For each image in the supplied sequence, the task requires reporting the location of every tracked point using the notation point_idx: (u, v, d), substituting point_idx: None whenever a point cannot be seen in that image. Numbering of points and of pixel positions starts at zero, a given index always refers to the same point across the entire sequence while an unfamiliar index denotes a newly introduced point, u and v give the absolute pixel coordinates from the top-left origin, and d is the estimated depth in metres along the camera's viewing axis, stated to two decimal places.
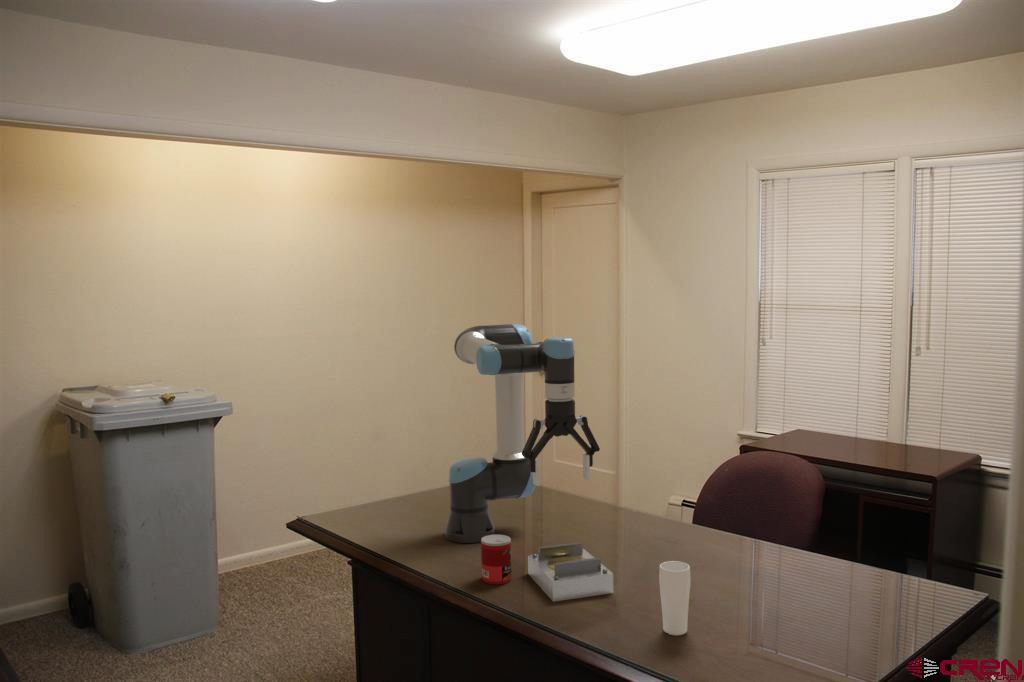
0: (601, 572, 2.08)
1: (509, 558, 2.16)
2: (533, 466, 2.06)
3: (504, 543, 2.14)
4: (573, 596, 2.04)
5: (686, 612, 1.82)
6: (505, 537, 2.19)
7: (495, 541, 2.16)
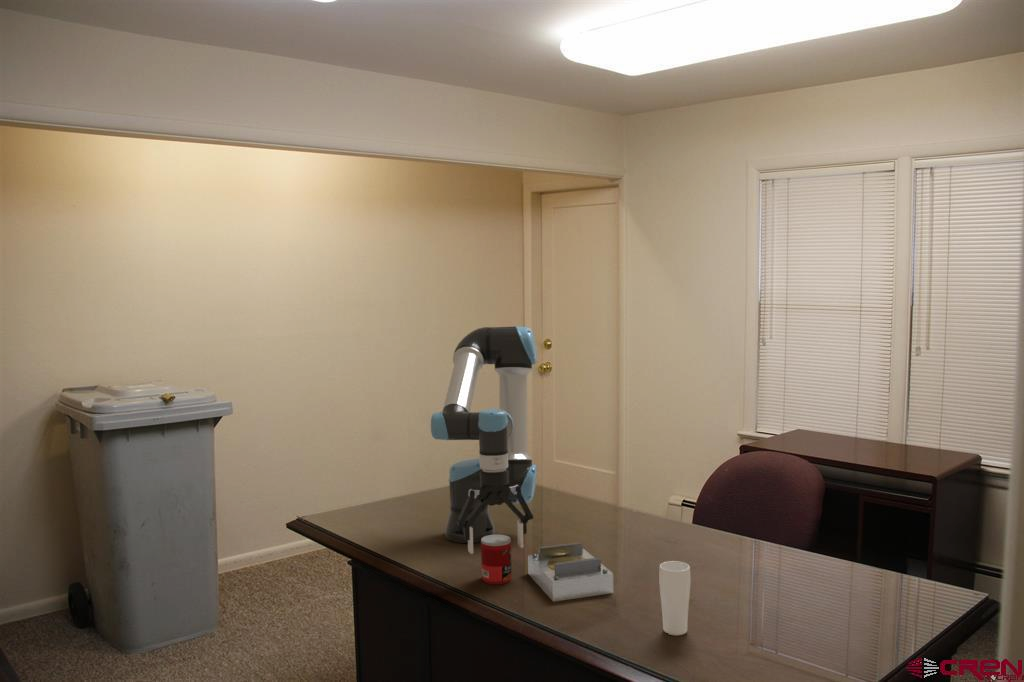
0: (601, 572, 2.08)
1: (509, 558, 2.16)
2: (467, 534, 2.14)
3: (504, 543, 2.14)
4: (573, 596, 2.04)
5: (686, 612, 1.82)
6: (505, 537, 2.19)
7: (495, 541, 2.16)
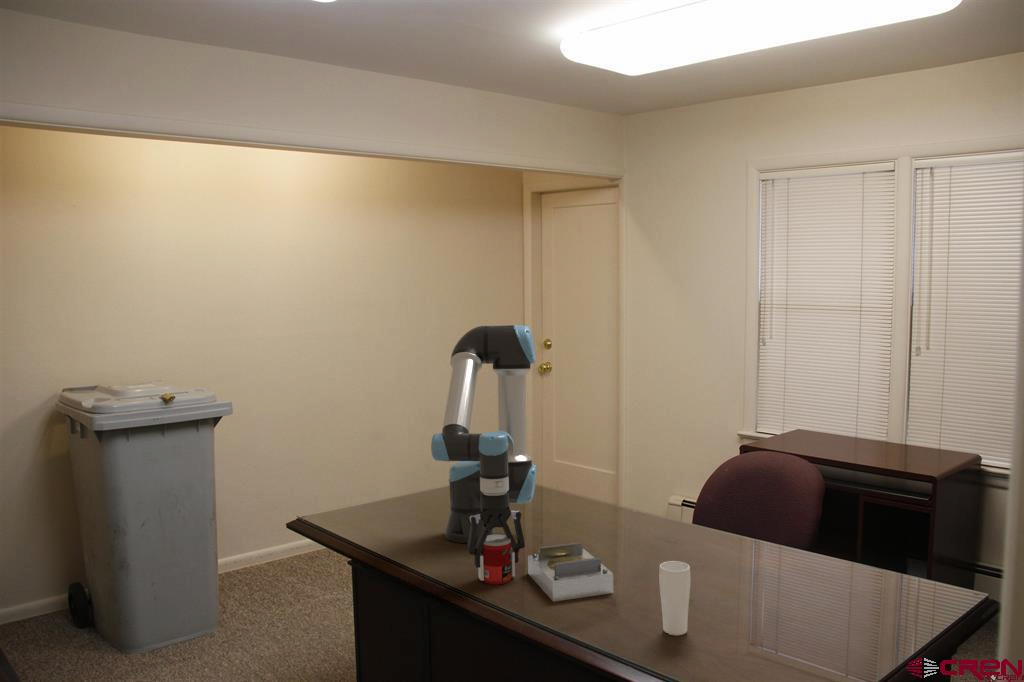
0: (601, 572, 2.08)
1: (509, 558, 2.16)
2: (478, 562, 2.16)
3: (504, 543, 2.14)
4: (573, 596, 2.04)
5: (686, 612, 1.82)
6: (505, 537, 2.19)
7: (495, 541, 2.16)
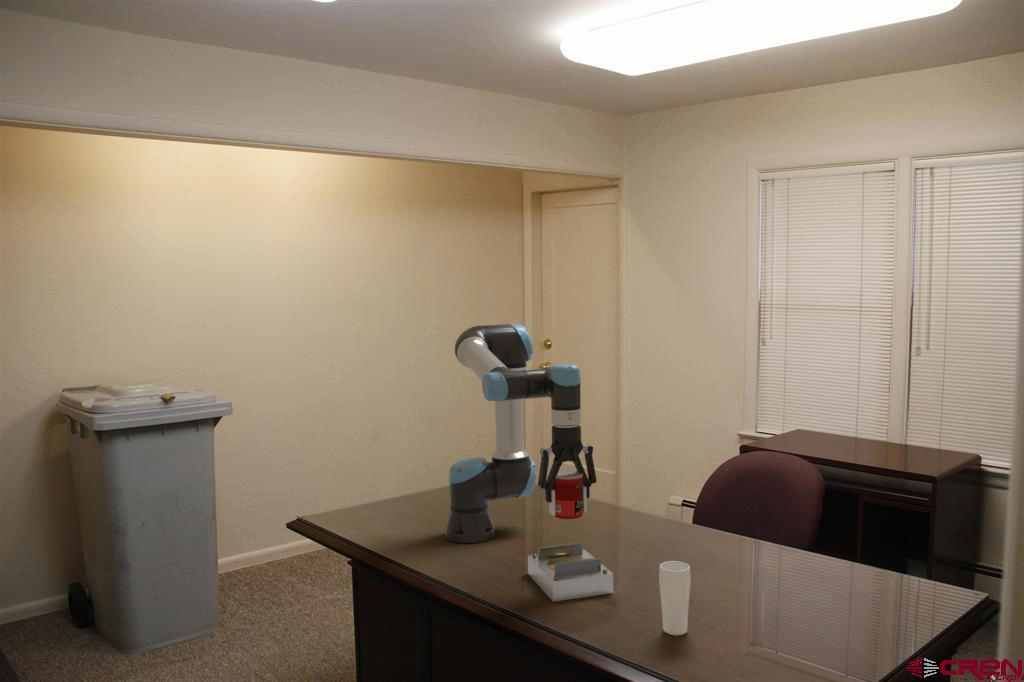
0: (601, 572, 2.08)
1: (581, 492, 2.10)
2: (549, 496, 2.10)
3: (577, 477, 2.09)
4: (573, 596, 2.04)
5: (686, 612, 1.82)
6: (576, 472, 2.13)
7: (567, 475, 2.11)
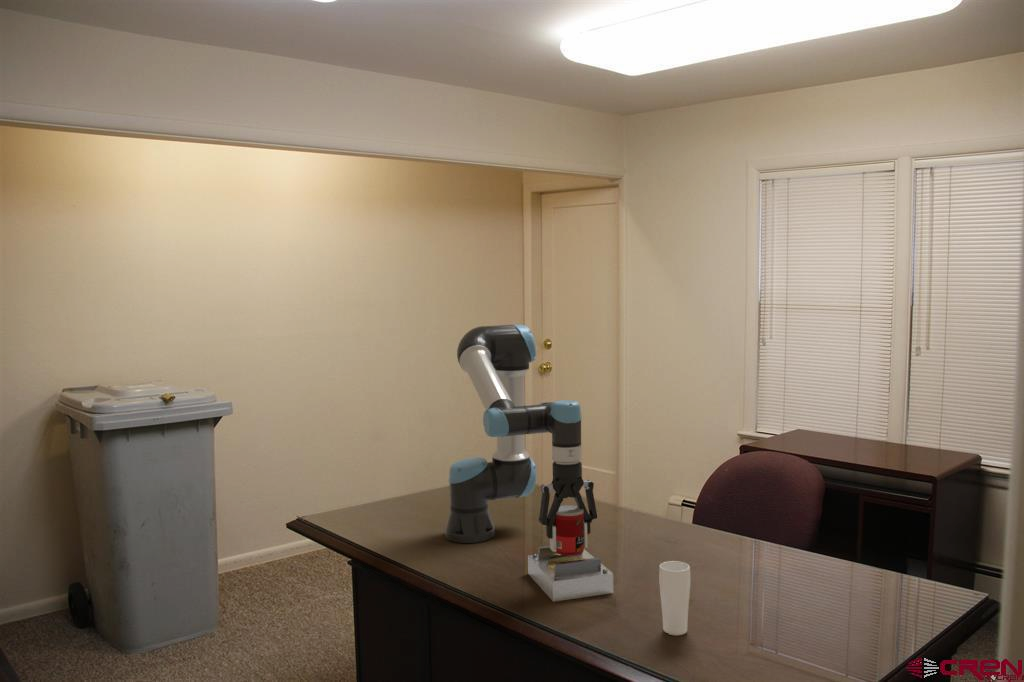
0: (601, 572, 2.08)
1: (582, 529, 2.11)
2: (550, 532, 2.11)
3: (578, 513, 2.10)
4: (573, 596, 2.04)
5: (686, 612, 1.82)
6: (577, 508, 2.14)
7: (568, 511, 2.12)
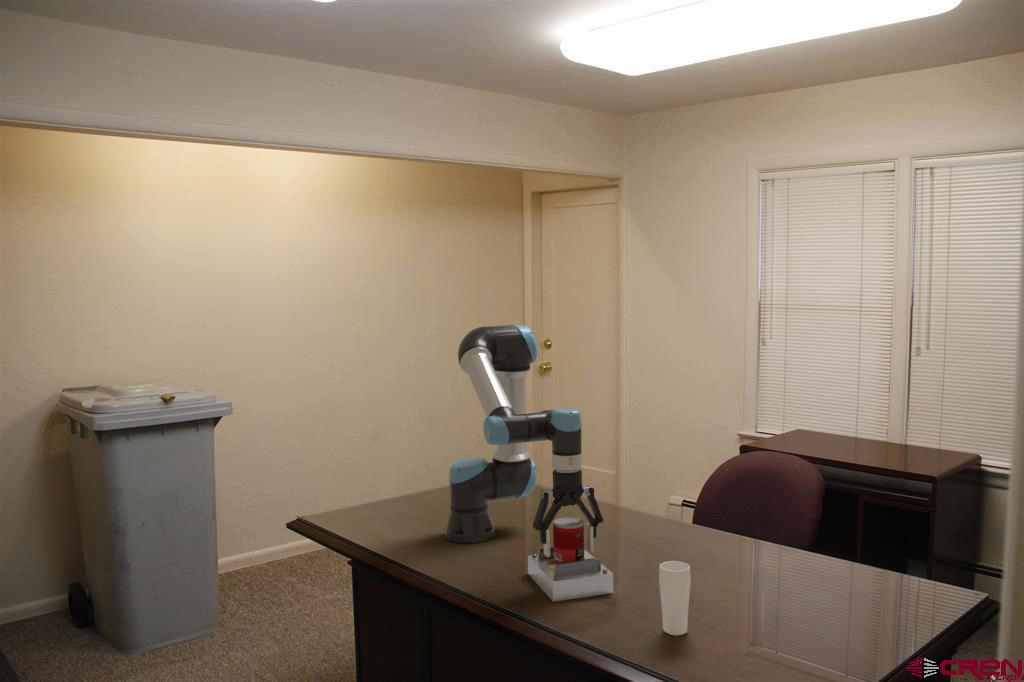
0: (601, 572, 2.08)
1: (582, 541, 2.11)
2: (544, 538, 2.11)
3: (578, 526, 2.10)
4: (573, 596, 2.04)
5: (686, 612, 1.82)
6: (577, 520, 2.15)
7: (568, 524, 2.12)
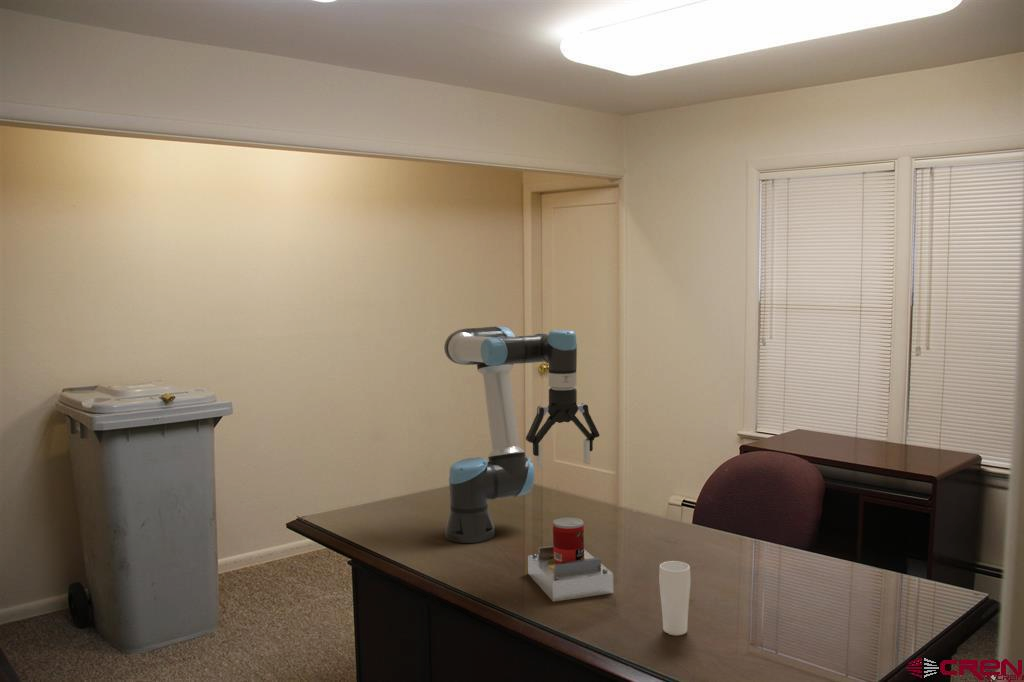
0: (601, 572, 2.08)
1: (582, 541, 2.11)
2: (536, 450, 2.21)
3: (578, 526, 2.10)
4: (573, 596, 2.04)
5: (686, 612, 1.82)
6: (577, 520, 2.15)
7: (568, 524, 2.12)
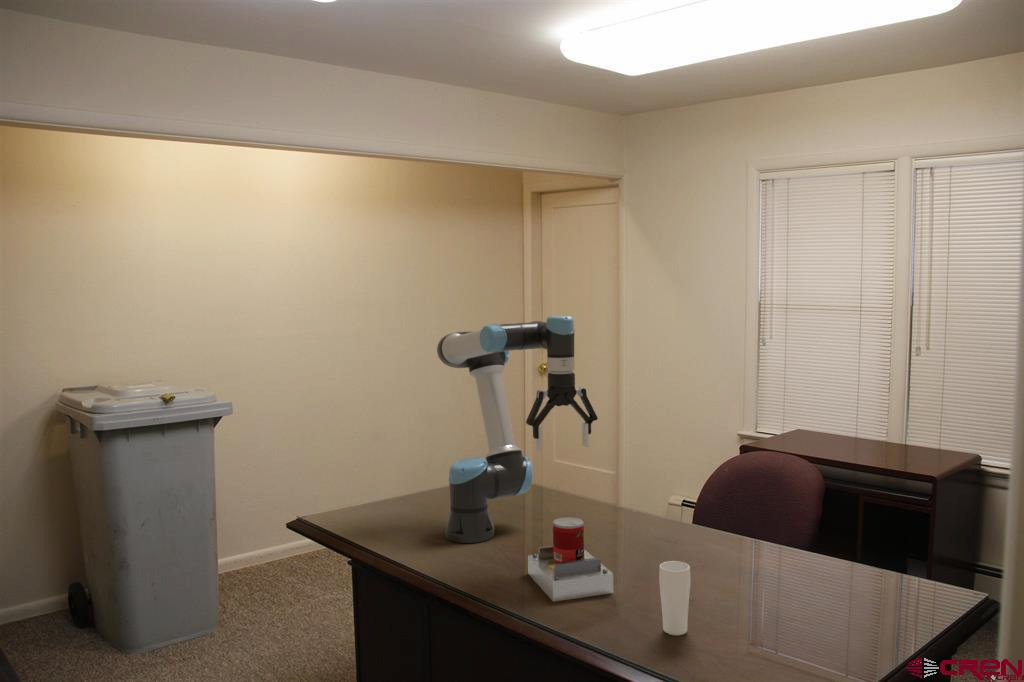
0: (601, 572, 2.08)
1: (582, 541, 2.11)
2: (536, 433, 2.26)
3: (578, 526, 2.10)
4: (573, 596, 2.04)
5: (686, 612, 1.82)
6: (577, 520, 2.15)
7: (568, 524, 2.12)
